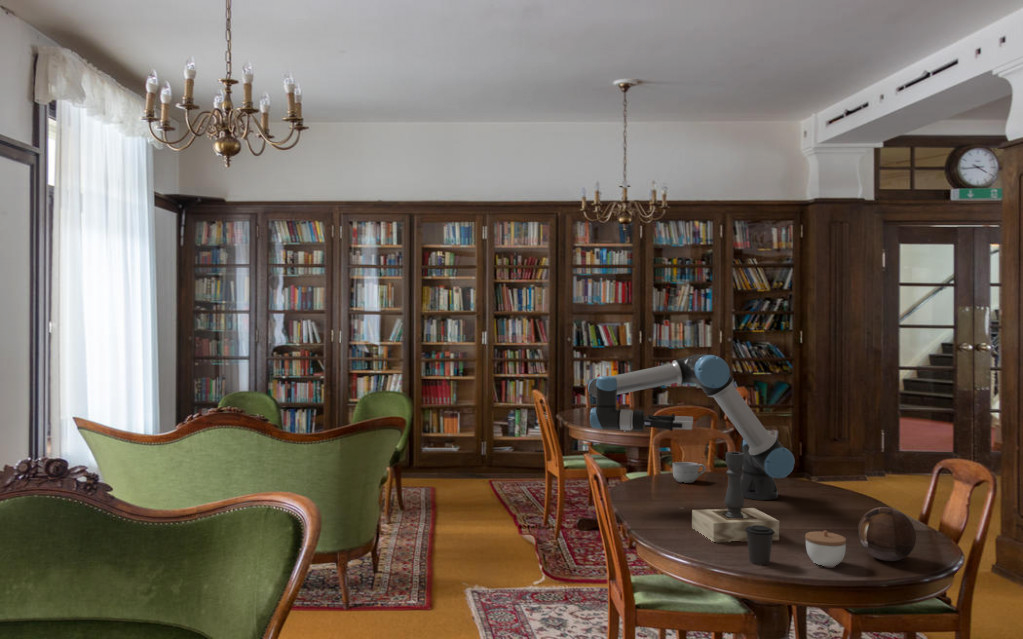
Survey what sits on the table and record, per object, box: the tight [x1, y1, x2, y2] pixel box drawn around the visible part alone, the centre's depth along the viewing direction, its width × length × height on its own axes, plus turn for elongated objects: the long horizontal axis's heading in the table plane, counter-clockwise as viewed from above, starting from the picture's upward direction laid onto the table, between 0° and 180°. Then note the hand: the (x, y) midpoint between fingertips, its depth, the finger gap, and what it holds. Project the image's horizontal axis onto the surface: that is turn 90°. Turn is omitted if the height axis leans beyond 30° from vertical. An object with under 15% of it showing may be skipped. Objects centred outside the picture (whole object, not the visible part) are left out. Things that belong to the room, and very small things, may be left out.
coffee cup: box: [745, 525, 775, 566], centre depth 209 cm, size 8×8×10 cm
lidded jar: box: [804, 530, 847, 567], centre depth 208 cm, size 11×11×9 cm
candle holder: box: [724, 451, 745, 519], centre depth 237 cm, size 6×6×25 cm
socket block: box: [691, 507, 780, 543], centre depth 237 cm, size 22×16×6 cm
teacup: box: [672, 461, 706, 484], centre depth 314 cm, size 14×11×8 cm
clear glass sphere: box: [857, 506, 917, 562], centre depth 213 cm, size 15×15×15 cm
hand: (692, 423), depth 263 cm, fingers open, 13 cm apart
